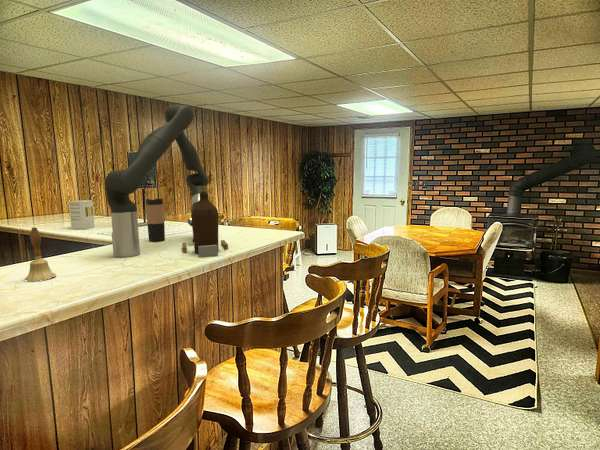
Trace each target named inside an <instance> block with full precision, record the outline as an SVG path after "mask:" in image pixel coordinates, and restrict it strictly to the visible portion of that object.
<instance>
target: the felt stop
mask: <svg viewBox="0 0 600 450" xmlns="http://www.w3.org/2000/svg"><path fill="white" fill-rule="evenodd" d="M218 249H219V245H218V246H217V245H206V246H198V251H199V254H198V258H208V257H209V258H211V257H218V256H219V250H218Z"/></svg>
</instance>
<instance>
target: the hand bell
mask: <svg viewBox="0 0 600 450" xmlns="http://www.w3.org/2000/svg"><path fill="white" fill-rule="evenodd" d="M29 236H30V237H29V239H30V243H31V245H32V247H33V255H34V259H33V260H32V261H31V262H30V263H29V271H28V274H27V276H26V277H25V278H24V280H27V281H39V282H41V281H40V280H45V279H49V278H52V277H54V276H56V275H57V274H56V273H54V272H53V271H52V269H51V268H50V266H49V263H48V260H46V259H43V258H42V253H41V244H42V243H41V242H42V240H41V239H42V237H41V234H40V231H39V230H38V227H36V226H35V227H31V231H30V235H29ZM56 277H57V276H56ZM52 279H53V278H52ZM49 280H50V279H49ZM45 281H46V280H45Z"/></svg>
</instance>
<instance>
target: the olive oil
mask: <svg viewBox="0 0 600 450" xmlns="http://www.w3.org/2000/svg"><path fill="white" fill-rule="evenodd" d="M199 196H200V200H199V201H198V203H197V204H196V205H195V206H194V207H193V209H192V208H191V213H190V218H191V220H192V226H191V228H192V236H193V238H192V242H193V248H194V253H195V254H196V255H199V251H198V246H206V245H217V246H218V247H219V211H218V209H217V207H216V206H215V205H214V203H212V201H210V200H209V193H208V190H207V189H206V190H200V194H199ZM219 249H220V248H218V251H219Z"/></svg>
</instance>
